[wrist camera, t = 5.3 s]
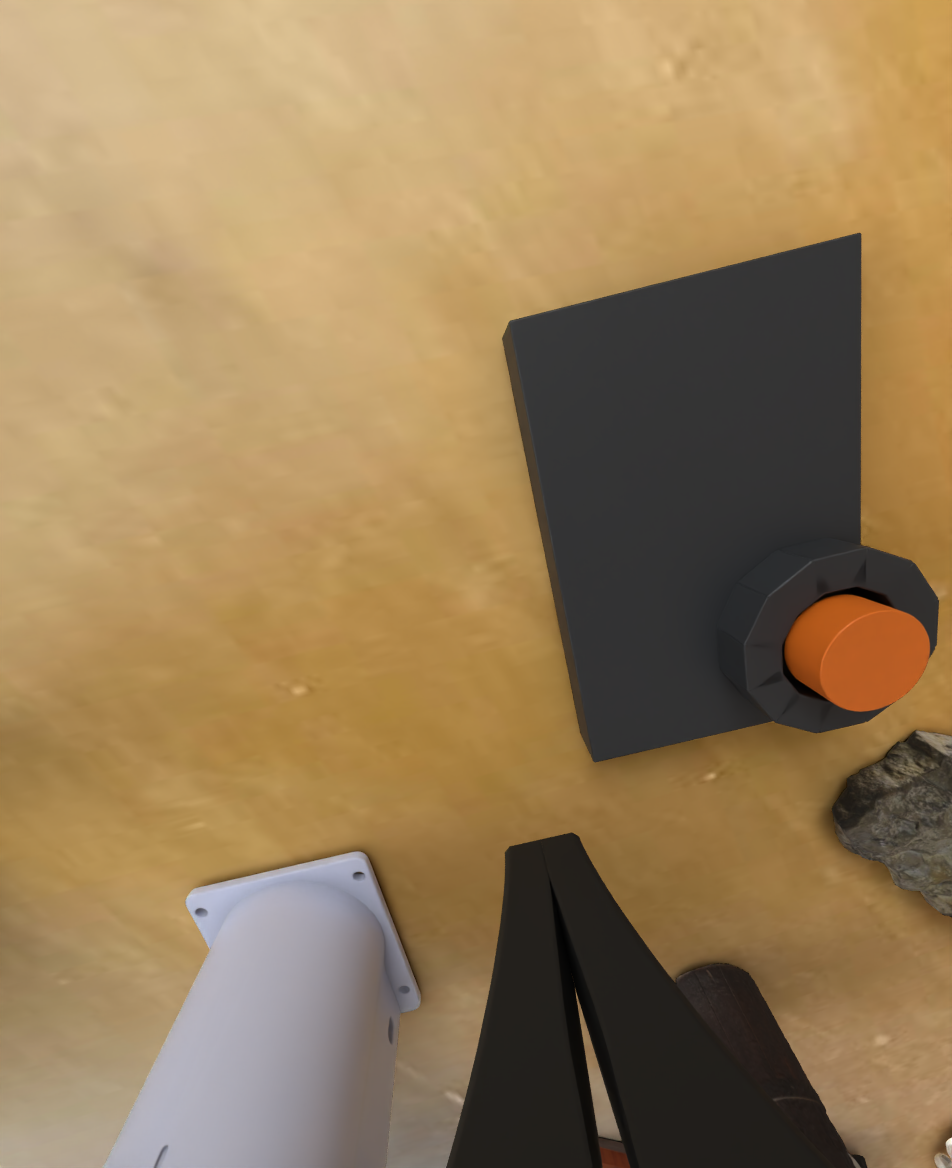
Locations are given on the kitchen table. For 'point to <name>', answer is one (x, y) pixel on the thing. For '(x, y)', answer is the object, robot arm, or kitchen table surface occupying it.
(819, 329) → the grey push button box
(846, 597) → the button
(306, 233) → the kitchen table surface
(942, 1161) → the toy car
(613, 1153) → the model
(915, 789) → the stone
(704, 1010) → the butter churn
